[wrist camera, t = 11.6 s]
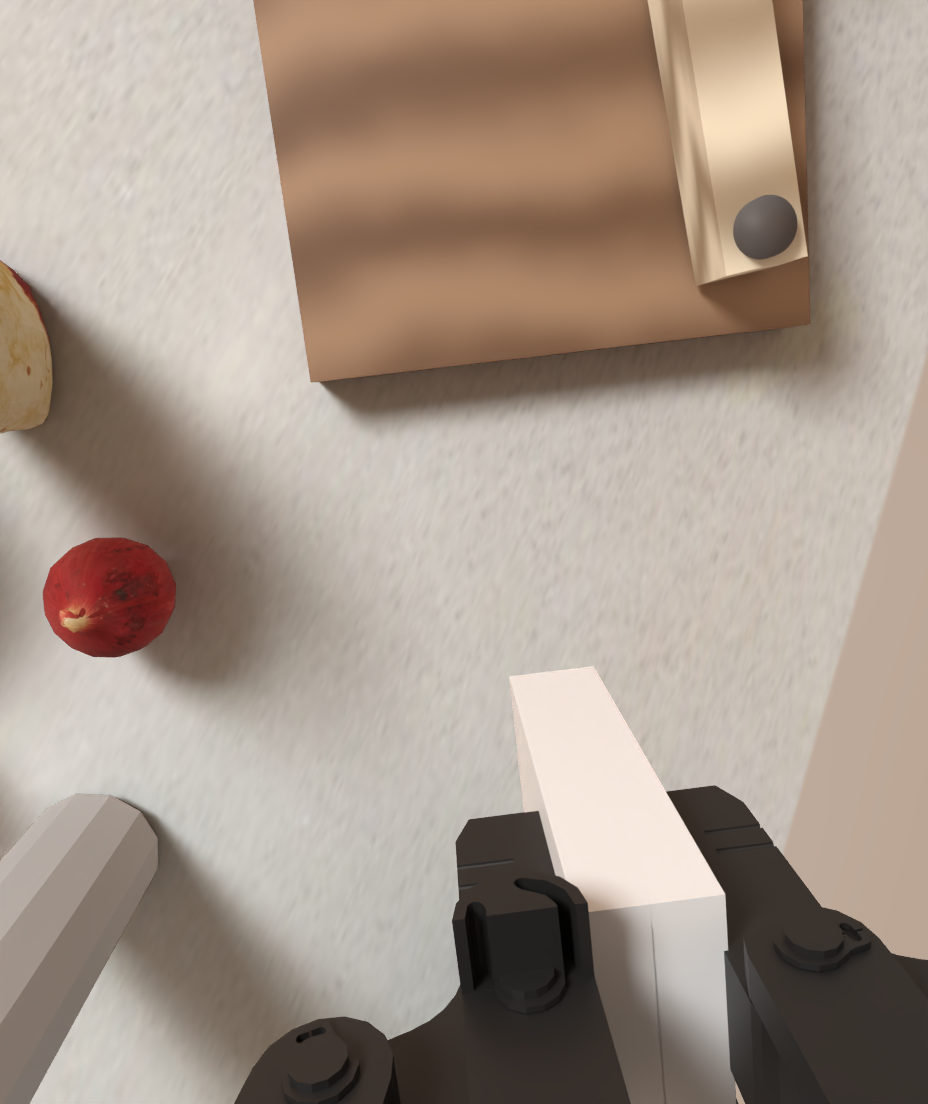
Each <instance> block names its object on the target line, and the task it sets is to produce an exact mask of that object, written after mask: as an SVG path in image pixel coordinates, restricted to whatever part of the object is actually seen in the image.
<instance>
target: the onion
mask: <svg viewBox="0 0 928 1104" xmlns="http://www.w3.org/2000/svg"><path fill="white" fill-rule="evenodd" d="M175 595H176V583H175V581H174V579H173V576H172V574H171V572H170V570H169V567H168V565H167V563H166V561H164V560H163V559H162V558H161V557H160V556H159V555H158V554H157V553H156V552H154V551H153V550H152V549H151V548H150V547H149V546H148V545H144V544H141V543H138V542H135V541H132V540H129V539H126V538H95V539H92V540H90V541H87V542H85V543H83V544H80V545H78V546H76V547H73V548H72V549H71V550H69V551H68V552H67V553H66V554H65V555H64V556H63V557H62V558H61V559H59V560H58V561H57V562H56V563H55V564H54V565H53V566H52V567H51V568H50V571H49V574H48V577H47V580H46V583H45V586H44V590H43V600H44V610H45V615H46V617H47V619H48V621H49V623H50V625H51V627H52V629H53V631H54V633H55V634H56V635H57V636H59V637H60V638H61V639H62V640H63V641H64V642H65V643H66V644H68V645H69V646H70V647H71V648H73V649H75V650H78V651H80V652H82V653H85V654H87V655H90V656H92V657H120V656H123V655H126V654H129V653H131V652H134V651H137V650H140V649H141V648H143V647H145V646H147V645H148V644H149V643H150V642H151V641H153V640H154V639H155V638H156V637H158V636H159V635H160V634H161V633H162V632H163V630H164V628H165V626H166V624H167V622H168V620H169V618H170V616H171V614H172V612H173V610H174V608H175Z"/></svg>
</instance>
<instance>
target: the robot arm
mask: <svg viewBox="0 0 928 1104" xmlns="http://www.w3.org/2000/svg"><path fill="white" fill-rule="evenodd" d="M509 679H510V688H511V697H512V706H513V716H514V725H515V734H516V743H517V753H518V762H519V771H520V780H521V789H522V799H523V808H524V813H517V814H509V815H501V816H493V817H485V818H477V819H470V820H468V822H467V824H466V825H465V827H464V829H463V830H462V832H461V834H460V835H459V837H458V839H457V840H456V855H457V868H458V870H457V871H458V886H459V901H458V902H457V903H456V907H455V911H454V915H453V919H452V924H453V931H454V939H455V946H456V954H457V961H458V969H459V976H460V987H459V989H458V991H457V993H456V995H455V997H454V998H453V999H452V1000H451V1002H450V1003H449V1004H448V1005H447V1007H446V1008H445V1009H444V1010H443V1011H441V1012H440V1013H439V1014H438V1015H436V1016H435V1017H434V1018H433V1019H431V1020H430V1021H429V1022H427V1023H425V1024H423V1025H421V1026H419V1027H417V1028H415V1029H413V1030H411V1031H409V1032H407V1033H404V1034H402V1035H400V1036H397V1037H395V1038H392V1039H390V1040H387V1039H386V1037H385V1035H384V1034H383V1033H381V1032H380V1031H379V1030H378V1029H376V1028H375V1027H374V1026H372V1025H371V1024H370V1023H368V1022H366V1021H361V1020H357V1019H353V1018H348V1017H336V1018H326V1019H318V1020H315V1021H313V1022H310V1023H308V1024H305V1025H303V1026H300V1027H298V1028H295V1029H293V1030H291V1031H290V1032H288V1033H287V1034H286V1035H284V1036H283V1037H282V1038H280V1039H279V1040H278V1041H276V1042H275V1043H273V1044H272V1045H271V1046H269V1048H268V1049H267V1050H266V1051H265V1053H264V1054H263V1055H262V1057H261V1058H260V1059H259V1061H258V1062H257V1063H256V1065H255V1066H254V1067H253V1069H252V1071H251V1072H250V1074H249V1076H248V1078H247V1080H246V1082H245V1084H244V1086H243V1088H242V1090H241V1092H240V1093H239V1095H238V1097H237V1099H236V1101H235V1103H234V1104H738V1102H737V1099H736V1090H735V1081H736V1083H737V1085H738V1088H739V1090H740V1092H741V1095H742V1097H743V1099H744V1101H745V1104H928V960H922V959H916V958H910V957H904V956H899V955H895V954H892V953H891V952H890V951H889V950H888V949H887V948H886V946H885V945H884V944H883V943H882V941H881V940H880V939H879V938H878V937H877V936H876V935H875V934H874V933H872V932H871V931H870V930H869V929H868V928H867V927H866V926H864V925H863V924H862V923H861V922H859V921H857V920H855V919H853V918H851V917H849V916H847V915H845V914H843V913H840V912H839V911H836V910H831V909H827V908H822V907H821V906H820V904H819V903H818V902H817V900H816V899H815V897H814V896H813V895H812V893H811V892H810V891H809V889H808V888H807V887H806V885H805V884H804V883H803V882H802V880H801V879H800V877H799V876H798V875H797V874H796V872H795V871H794V870H793V868H792V867H791V865H790V864H789V863H788V861H787V860H786V859H785V857H784V856H783V855H782V853H781V852H780V851H779V849H778V848H777V847H776V846H775V847H774V845H773V841H772V840H771V839H770V837H769V836H768V835H767V833H766V832H765V831H764V829H763V828H760V824H759V822H758V821H757V820H756V818H755V817H754V816H753V814H752V813H751V812H750V810H749V809H748V808H747V806H746V805H745V804H744V802H742V801H741V800H739V799H737V798H735V797H734V796H732V795H730V794H729V793H727V792H725V791H724V790H722V789H720V788H719V787H717V786H707V787H699V788H691V789H684V790H676V791H668V792H666V791H665V789H664V788H663V786H662V784H661V782H660V781H659V779H658V777H657V776H656V774H655V772H654V770H653V769H652V767H651V765H650V763H649V762H648V760H647V758H646V756H645V755H644V753H643V751H642V750H641V748H640V746H639V744H638V743H637V741H636V739H635V737H634V736H633V734H632V732H631V731H630V729H629V727H628V725H627V724H626V722H625V720H624V718H623V717H622V715H621V713H620V712H619V710H618V708H617V706H616V705H615V703H614V701H613V699H612V698H611V696H610V694H609V693H608V691H607V689H606V687H605V686H604V684H603V682H602V680H601V679H600V677H599V675H598V674H597V672H596V670H595V668H594V667H593V666H590V667H582V668H574V669H566V670H557V671H549V672H541V673H533V674H525V675H517V676H509Z"/></svg>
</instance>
